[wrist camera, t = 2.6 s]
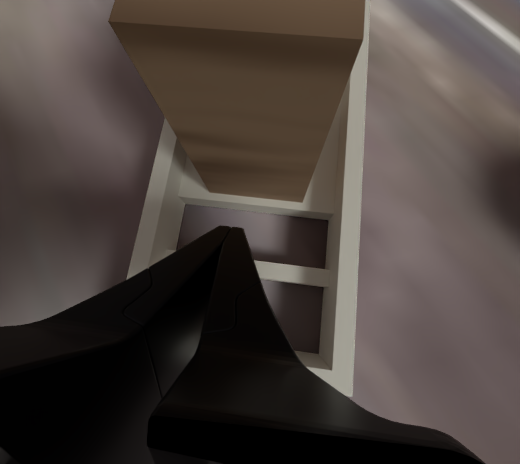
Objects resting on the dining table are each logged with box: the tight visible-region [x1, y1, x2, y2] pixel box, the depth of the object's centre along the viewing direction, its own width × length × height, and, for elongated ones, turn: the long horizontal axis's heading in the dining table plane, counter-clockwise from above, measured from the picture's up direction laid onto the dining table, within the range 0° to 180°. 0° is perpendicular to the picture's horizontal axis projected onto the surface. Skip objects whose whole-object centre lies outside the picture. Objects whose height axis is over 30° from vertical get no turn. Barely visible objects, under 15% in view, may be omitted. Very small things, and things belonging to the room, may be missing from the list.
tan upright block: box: [108, 0, 365, 203], centre depth 12 cm, size 8×6×11 cm
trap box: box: [126, 0, 370, 397], centre depth 18 cm, size 32×12×4 cm, turn 173°
